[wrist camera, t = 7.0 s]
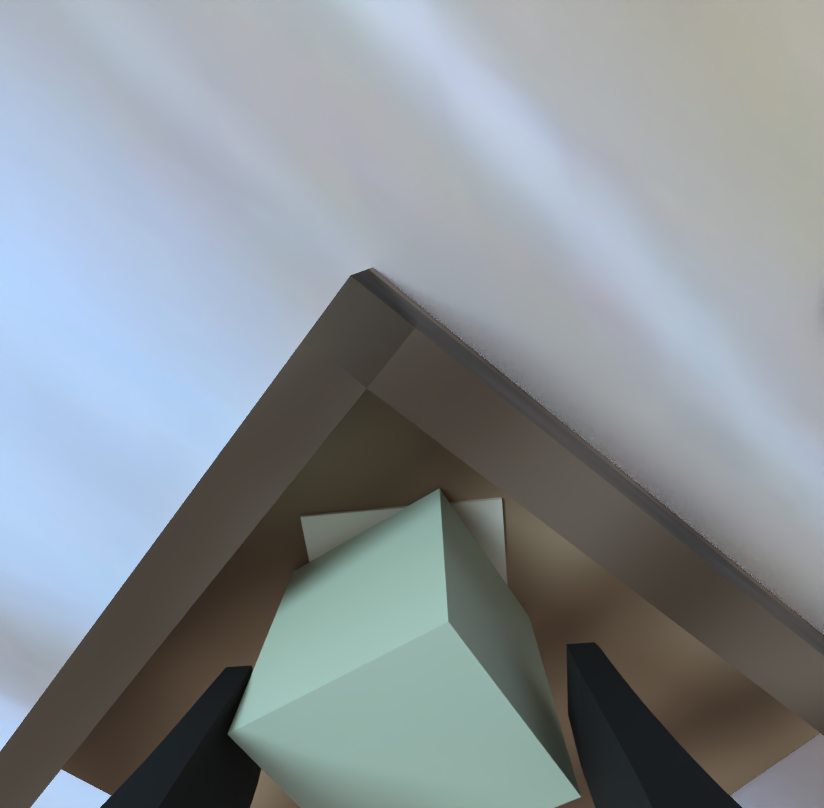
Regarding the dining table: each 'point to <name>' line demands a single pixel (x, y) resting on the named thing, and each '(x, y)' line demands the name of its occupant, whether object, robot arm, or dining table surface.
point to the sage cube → (405, 679)
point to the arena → (485, 519)
